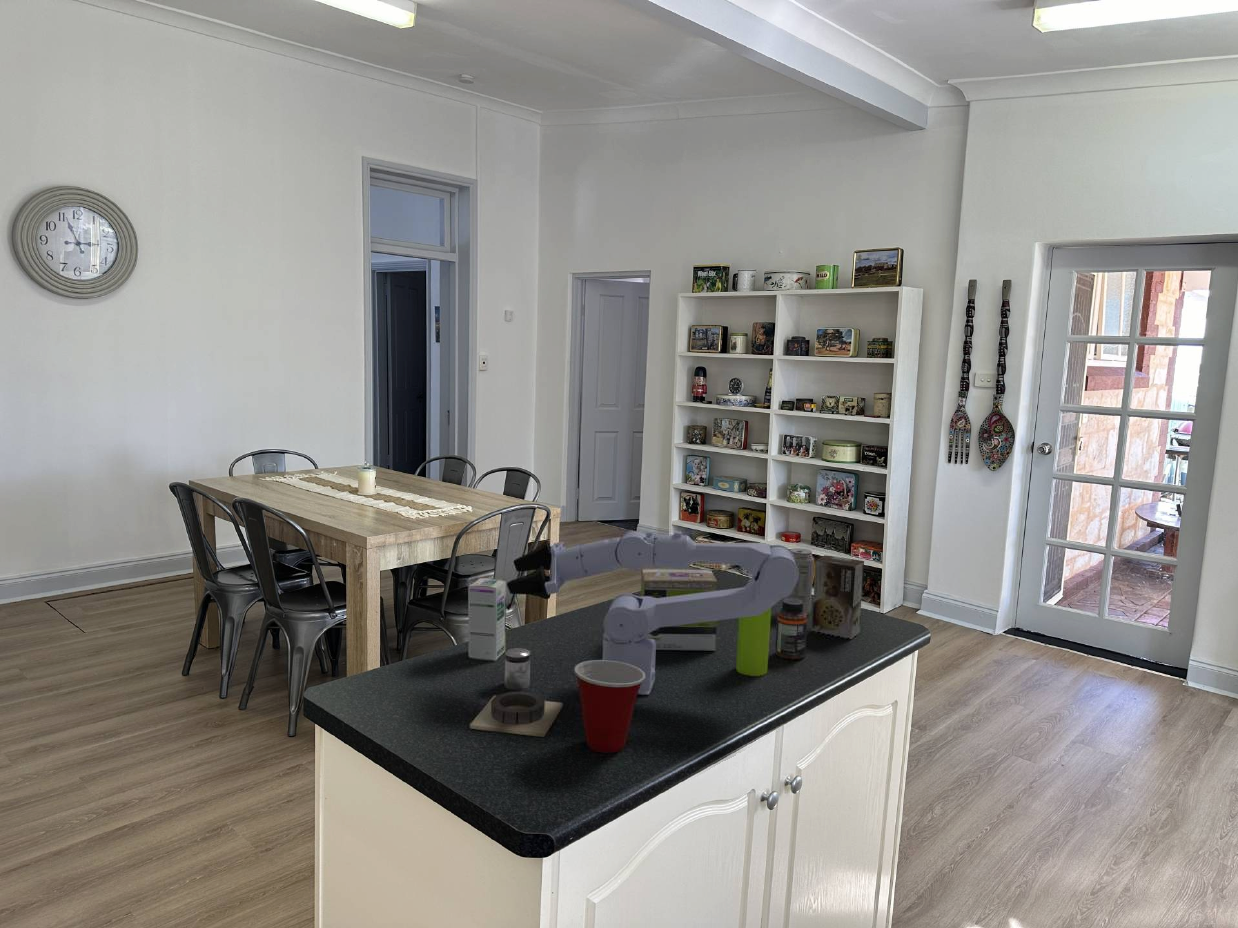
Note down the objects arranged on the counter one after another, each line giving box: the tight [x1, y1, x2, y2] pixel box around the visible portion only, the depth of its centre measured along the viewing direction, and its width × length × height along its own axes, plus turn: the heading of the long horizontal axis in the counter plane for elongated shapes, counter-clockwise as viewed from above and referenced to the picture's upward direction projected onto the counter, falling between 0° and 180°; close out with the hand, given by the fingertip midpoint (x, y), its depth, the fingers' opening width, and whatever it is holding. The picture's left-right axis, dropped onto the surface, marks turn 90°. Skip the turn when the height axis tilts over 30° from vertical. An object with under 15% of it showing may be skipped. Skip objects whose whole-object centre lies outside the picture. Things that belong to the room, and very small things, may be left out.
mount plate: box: [469, 690, 563, 738], centre depth 143 cm, size 12×12×3 cm
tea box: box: [640, 568, 719, 652], centre depth 180 cm, size 15×10×15 cm, turn 92°
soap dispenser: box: [735, 607, 772, 677], centre depth 167 cm, size 6×7×20 cm
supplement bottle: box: [774, 598, 808, 661], centre depth 176 cm, size 6×6×11 cm
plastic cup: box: [574, 659, 645, 754], centre depth 134 cm, size 11×11×12 cm
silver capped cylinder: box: [504, 647, 532, 691], centre depth 156 cm, size 4×4×6 cm
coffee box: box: [811, 554, 865, 640], centre depth 191 cm, size 9×6×16 cm
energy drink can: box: [784, 548, 815, 616], centre depth 204 cm, size 6×6×15 cm
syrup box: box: [467, 577, 507, 662], centre depth 170 cm, size 6×6×14 cm
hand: (512, 576), depth 158 cm, fingers open, 7 cm apart
